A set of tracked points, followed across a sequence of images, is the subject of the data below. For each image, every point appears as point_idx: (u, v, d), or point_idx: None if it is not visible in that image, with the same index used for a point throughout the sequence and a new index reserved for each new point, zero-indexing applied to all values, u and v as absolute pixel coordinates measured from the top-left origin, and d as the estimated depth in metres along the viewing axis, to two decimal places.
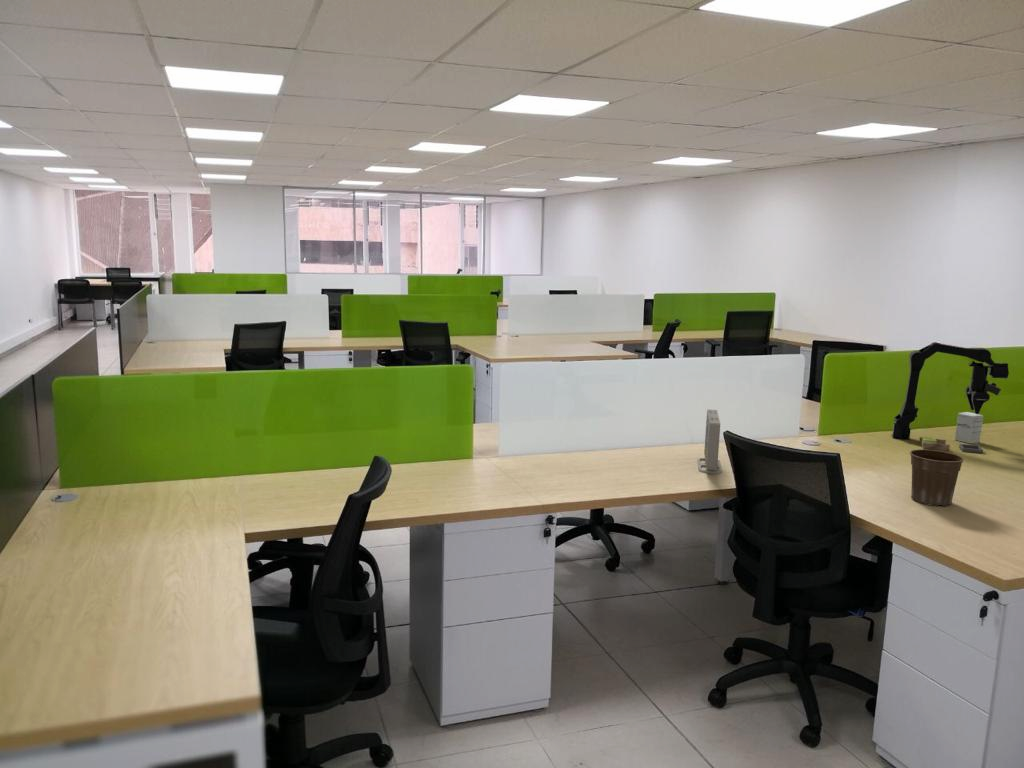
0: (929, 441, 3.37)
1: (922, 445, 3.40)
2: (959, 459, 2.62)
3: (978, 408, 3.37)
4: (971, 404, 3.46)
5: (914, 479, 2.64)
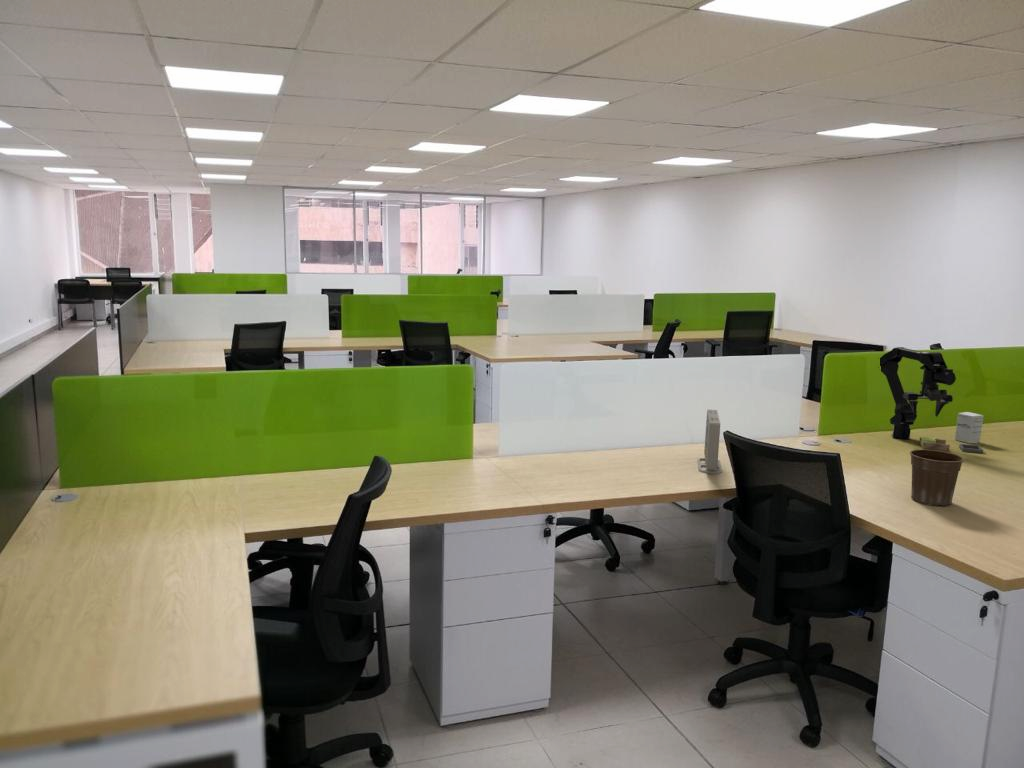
0: (928, 441, 3.38)
1: (921, 445, 3.40)
2: (959, 459, 2.62)
3: (913, 409, 3.40)
4: (936, 410, 3.41)
5: (914, 479, 2.64)
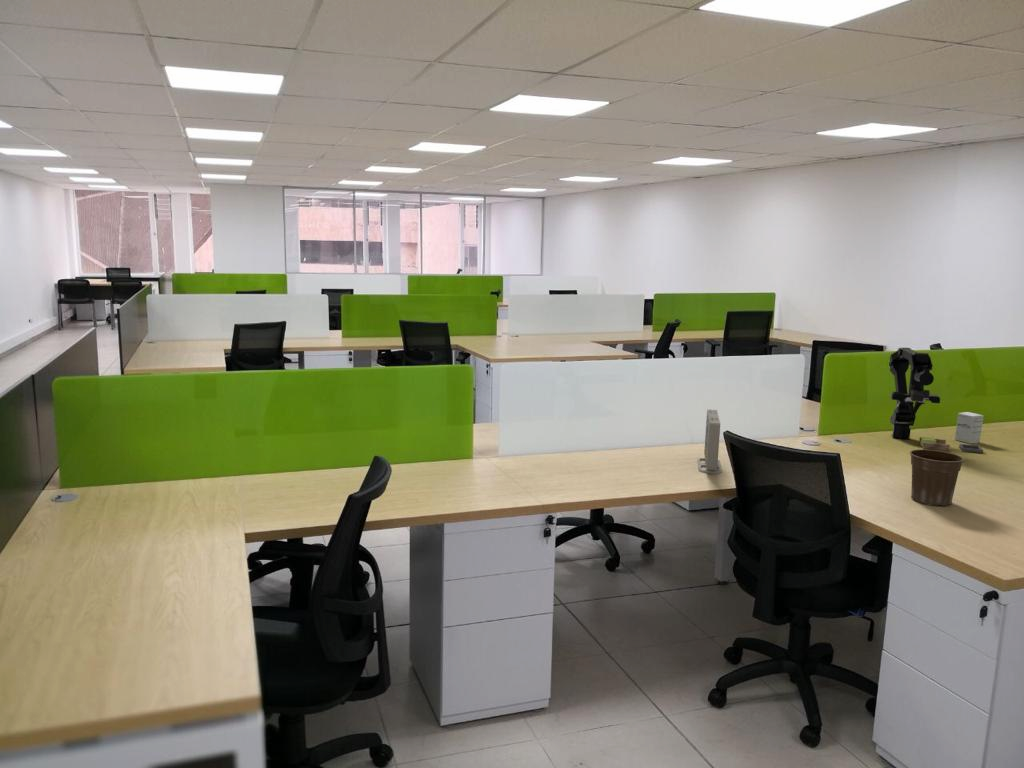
0: (928, 441, 3.38)
1: (921, 445, 3.40)
2: (959, 459, 2.62)
3: (910, 410, 3.40)
4: (913, 410, 3.40)
5: (914, 479, 2.64)
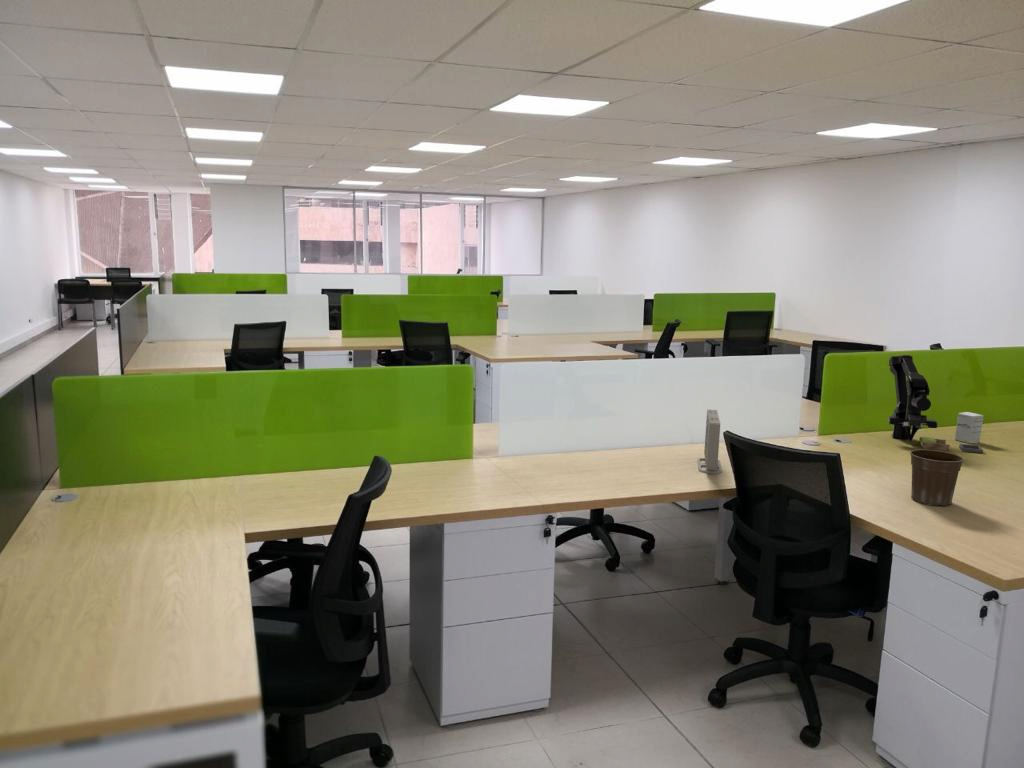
0: (929, 441, 3.38)
1: (921, 445, 3.40)
2: (959, 459, 2.62)
3: (907, 434, 3.42)
4: None
5: (914, 479, 2.64)
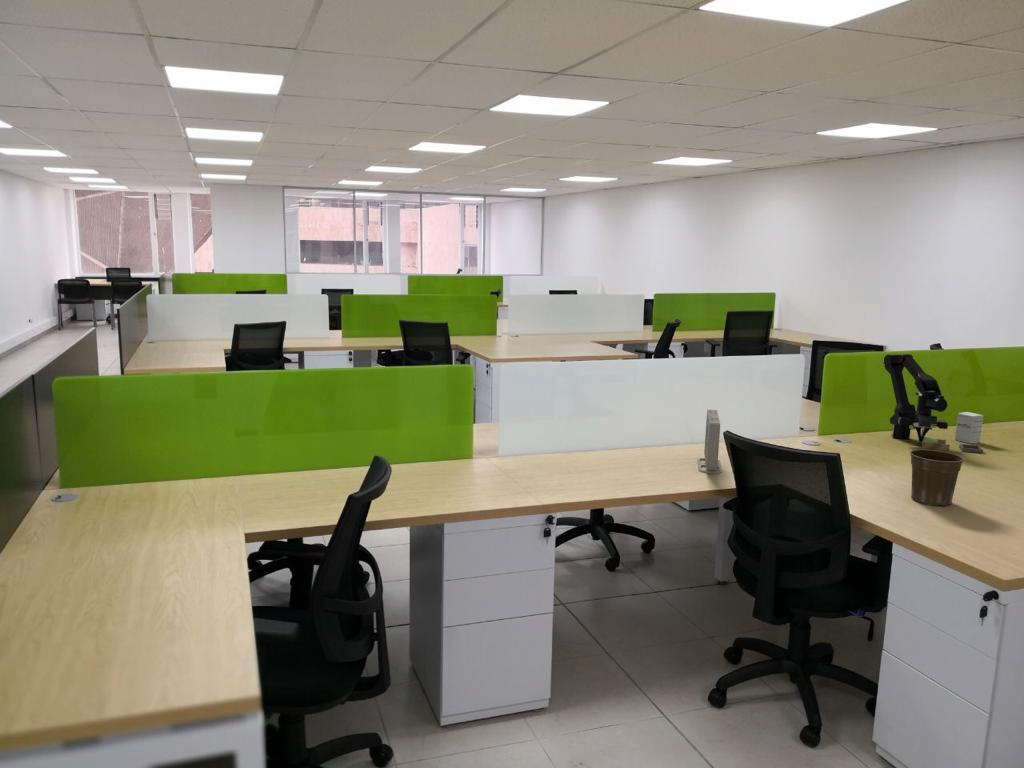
0: (930, 441, 3.37)
1: None
2: (959, 459, 2.62)
3: (918, 435, 3.40)
4: None
5: (914, 479, 2.64)
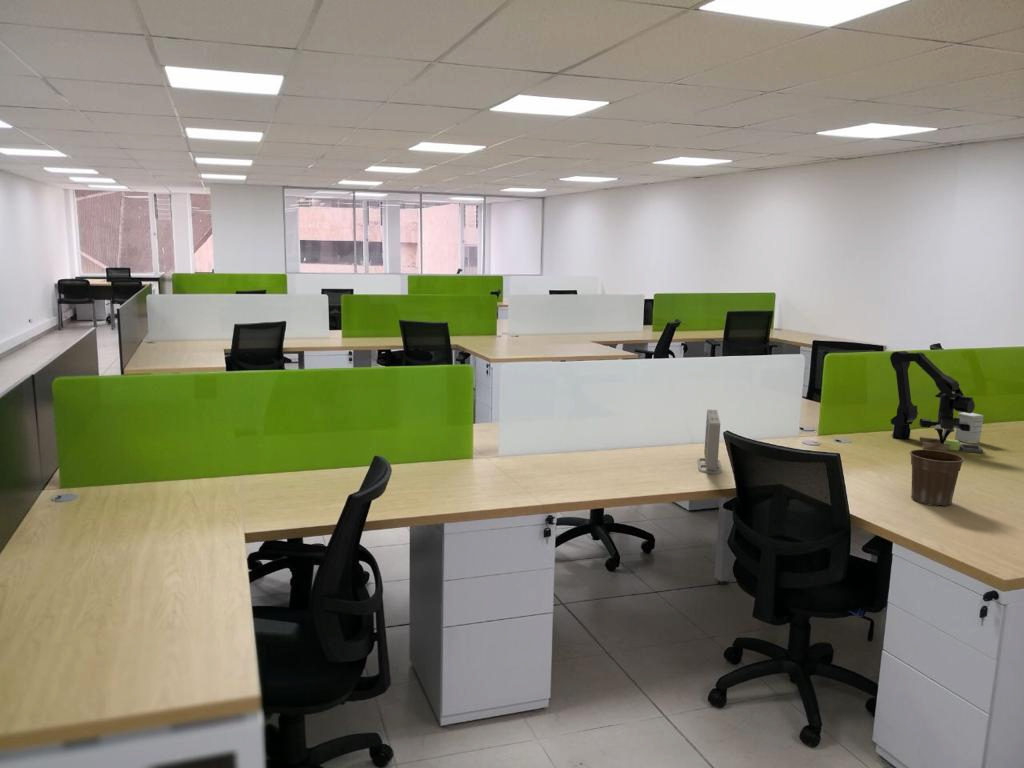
0: (952, 443, 3.34)
1: None
2: (959, 459, 2.62)
3: (939, 437, 3.38)
4: None
5: (914, 479, 2.64)
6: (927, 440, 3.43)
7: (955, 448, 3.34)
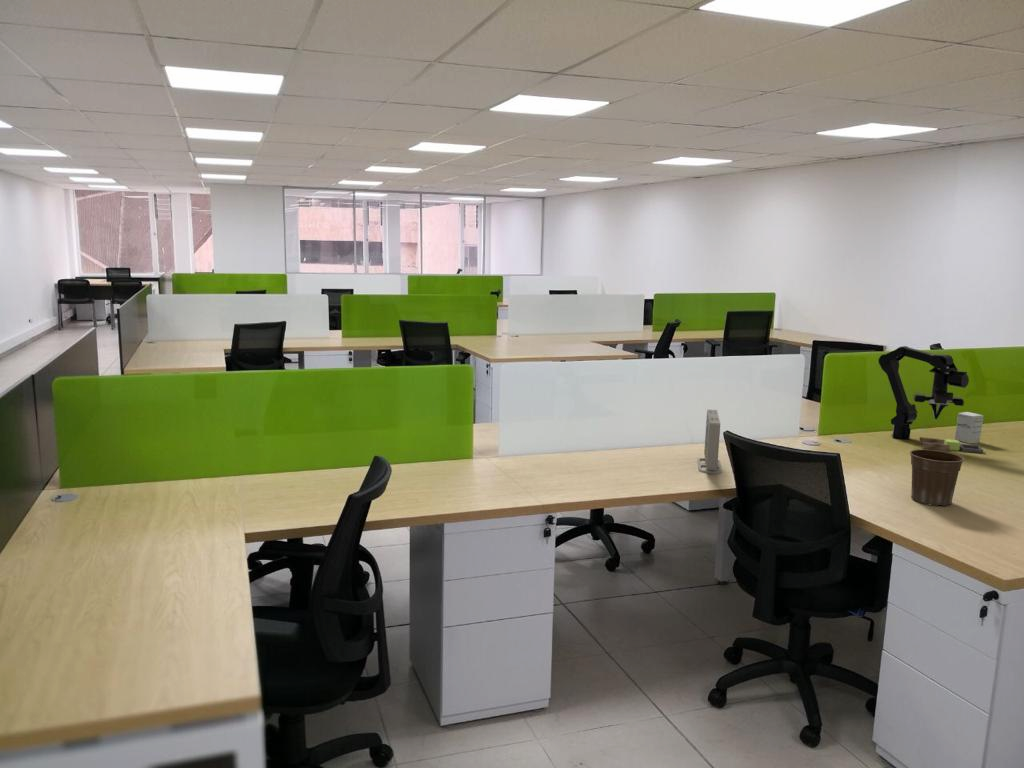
0: (952, 443, 3.34)
1: None
2: (959, 459, 2.62)
3: (933, 412, 3.39)
4: None
5: (914, 479, 2.64)
6: (927, 440, 3.43)
7: (955, 448, 3.34)
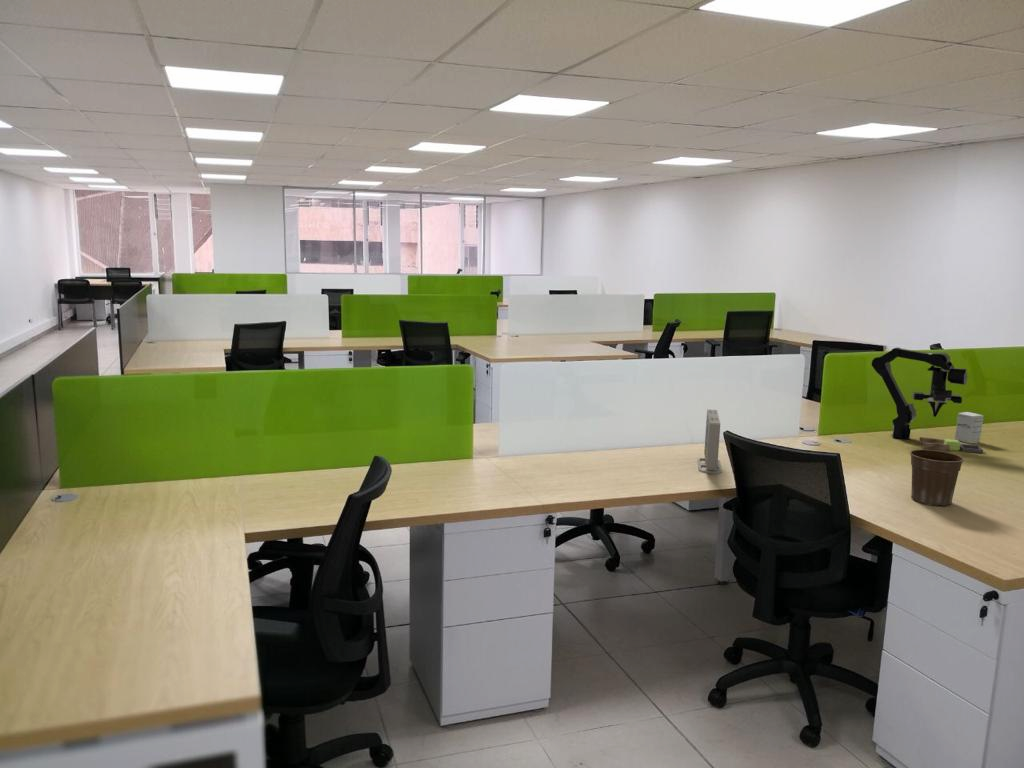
0: (952, 443, 3.34)
1: None
2: (959, 459, 2.62)
3: (932, 410, 3.43)
4: (935, 410, 3.44)
5: (914, 479, 2.64)
6: (927, 440, 3.43)
7: (955, 448, 3.34)
